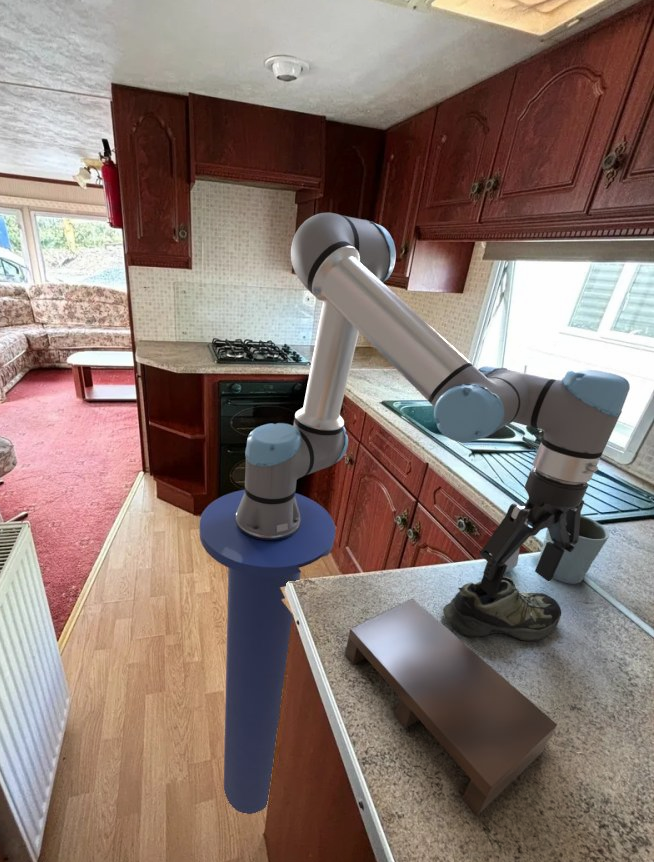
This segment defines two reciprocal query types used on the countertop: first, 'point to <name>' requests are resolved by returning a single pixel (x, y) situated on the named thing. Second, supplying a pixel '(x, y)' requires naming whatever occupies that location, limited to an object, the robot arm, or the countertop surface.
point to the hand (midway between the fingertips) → (515, 583)
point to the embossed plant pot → (580, 551)
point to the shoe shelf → (453, 698)
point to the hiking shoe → (502, 612)
